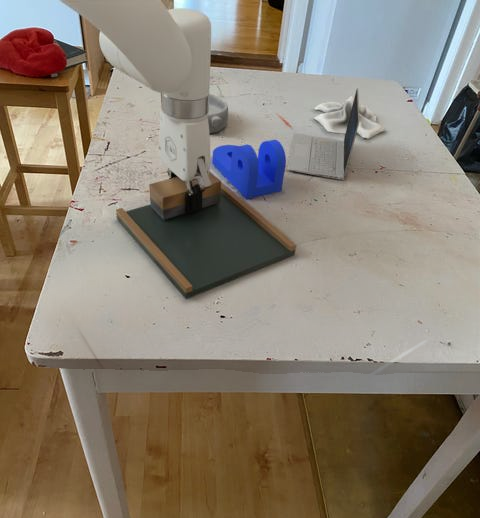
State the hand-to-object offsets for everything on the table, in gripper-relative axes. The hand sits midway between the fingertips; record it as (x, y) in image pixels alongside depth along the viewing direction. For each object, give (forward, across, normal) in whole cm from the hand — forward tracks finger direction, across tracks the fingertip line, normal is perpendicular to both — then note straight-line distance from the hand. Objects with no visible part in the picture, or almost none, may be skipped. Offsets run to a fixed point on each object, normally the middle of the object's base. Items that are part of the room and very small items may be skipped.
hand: (185, 202), depth 87 cm
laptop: (+2, -5, +38) cm, 38 cm away
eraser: (0, 0, 0) cm, 0 cm away
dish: (+2, -32, +22) cm, 39 cm away
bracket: (+2, -7, +18) cm, 19 cm away
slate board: (+2, +8, -1) cm, 9 cm away
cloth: (+3, -17, +60) cm, 62 cm away
